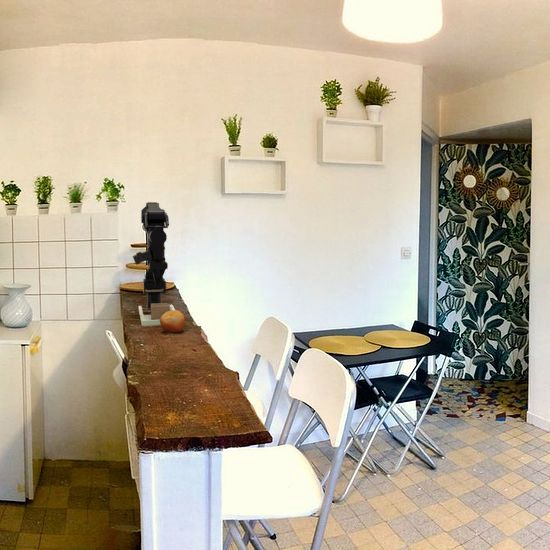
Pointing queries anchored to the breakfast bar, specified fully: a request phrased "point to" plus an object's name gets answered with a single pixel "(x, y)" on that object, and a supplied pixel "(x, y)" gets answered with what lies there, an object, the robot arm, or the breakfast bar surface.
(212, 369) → the breakfast bar surface
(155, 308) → the walnut block
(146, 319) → the trap channel
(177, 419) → the breakfast bar surface
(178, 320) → the fruit
